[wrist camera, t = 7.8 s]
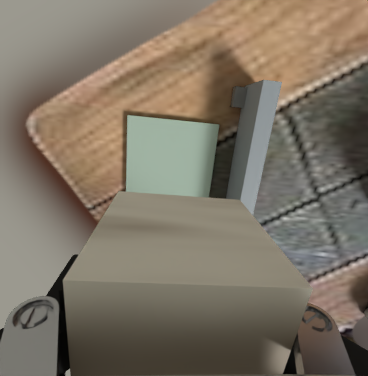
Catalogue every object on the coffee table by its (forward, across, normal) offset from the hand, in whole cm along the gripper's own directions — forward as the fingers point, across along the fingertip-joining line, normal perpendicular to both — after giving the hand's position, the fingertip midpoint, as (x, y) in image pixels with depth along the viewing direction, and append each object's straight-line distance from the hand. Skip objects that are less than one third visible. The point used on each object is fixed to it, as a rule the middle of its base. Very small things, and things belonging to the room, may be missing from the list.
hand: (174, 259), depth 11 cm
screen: (+22, -10, 0) cm, 24 cm away
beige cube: (+1, 0, 0) cm, 1 cm away
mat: (+22, 0, 0) cm, 22 cm away
